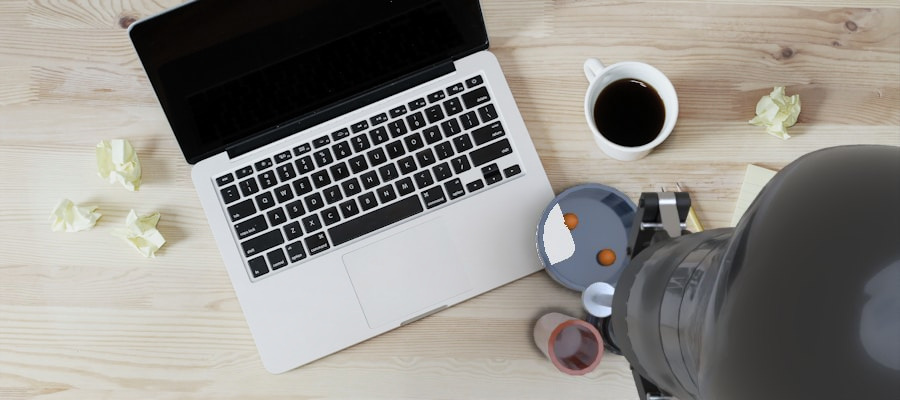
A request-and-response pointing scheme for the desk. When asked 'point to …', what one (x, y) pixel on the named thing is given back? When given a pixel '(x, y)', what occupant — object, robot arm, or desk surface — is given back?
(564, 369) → the crock
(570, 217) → the bead
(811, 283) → the robot arm
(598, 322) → the pill bottle
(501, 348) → the desk surface
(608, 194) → the bowl
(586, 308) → the ladle
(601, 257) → the bead
